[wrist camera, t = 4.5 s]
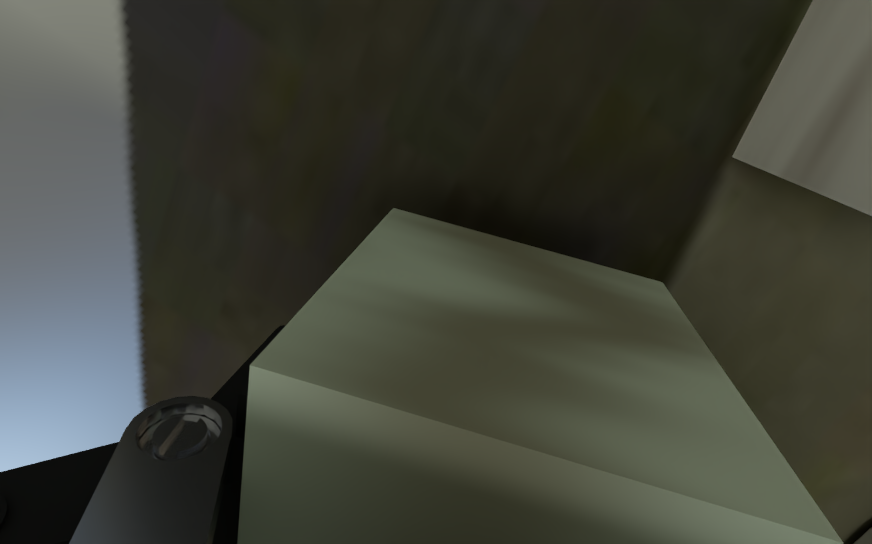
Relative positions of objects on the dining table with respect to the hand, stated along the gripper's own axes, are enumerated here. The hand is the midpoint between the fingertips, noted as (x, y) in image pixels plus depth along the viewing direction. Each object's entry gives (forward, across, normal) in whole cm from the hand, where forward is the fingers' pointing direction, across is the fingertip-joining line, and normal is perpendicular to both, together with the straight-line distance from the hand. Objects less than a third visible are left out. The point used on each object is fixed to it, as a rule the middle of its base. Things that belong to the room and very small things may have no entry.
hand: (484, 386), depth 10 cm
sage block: (+1, 0, 0) cm, 1 cm away
